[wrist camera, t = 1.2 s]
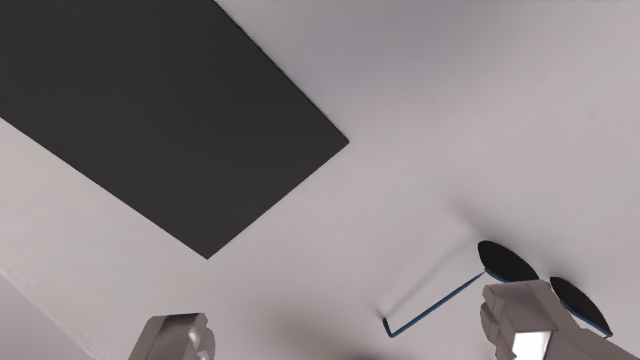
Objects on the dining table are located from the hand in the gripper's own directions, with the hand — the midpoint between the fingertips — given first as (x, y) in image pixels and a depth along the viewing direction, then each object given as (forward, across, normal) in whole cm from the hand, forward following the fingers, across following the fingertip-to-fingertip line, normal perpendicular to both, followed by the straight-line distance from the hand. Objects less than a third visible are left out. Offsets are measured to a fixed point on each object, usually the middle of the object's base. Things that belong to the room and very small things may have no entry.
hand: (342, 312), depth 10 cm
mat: (+19, +13, -2) cm, 23 cm away
